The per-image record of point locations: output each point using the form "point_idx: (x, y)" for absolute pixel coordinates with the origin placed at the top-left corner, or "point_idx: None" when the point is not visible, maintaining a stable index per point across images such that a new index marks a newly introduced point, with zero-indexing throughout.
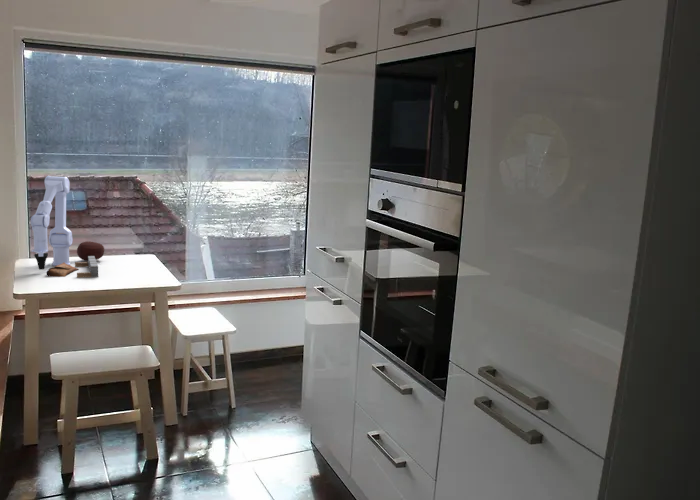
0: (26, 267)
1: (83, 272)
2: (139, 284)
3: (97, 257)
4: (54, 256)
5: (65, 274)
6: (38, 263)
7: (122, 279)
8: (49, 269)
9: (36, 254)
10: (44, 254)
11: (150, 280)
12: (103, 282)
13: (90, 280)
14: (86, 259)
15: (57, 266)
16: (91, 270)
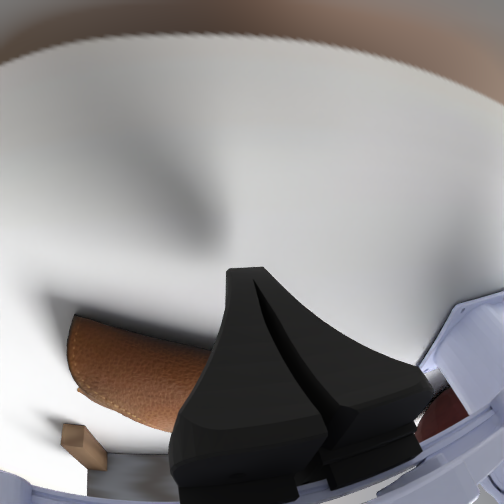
0: (501, 147)
1: (92, 459)
2: (26, 477)
3: (414, 434)
4: (496, 344)
5: (101, 405)
6: (222, 325)
7: (72, 479)
8: (75, 375)
9: (290, 460)
10: (296, 483)
11: (76, 494)
12: (14, 450)
13: (28, 439)
14: (434, 405)
15: (171, 423)
16: (87, 480)
